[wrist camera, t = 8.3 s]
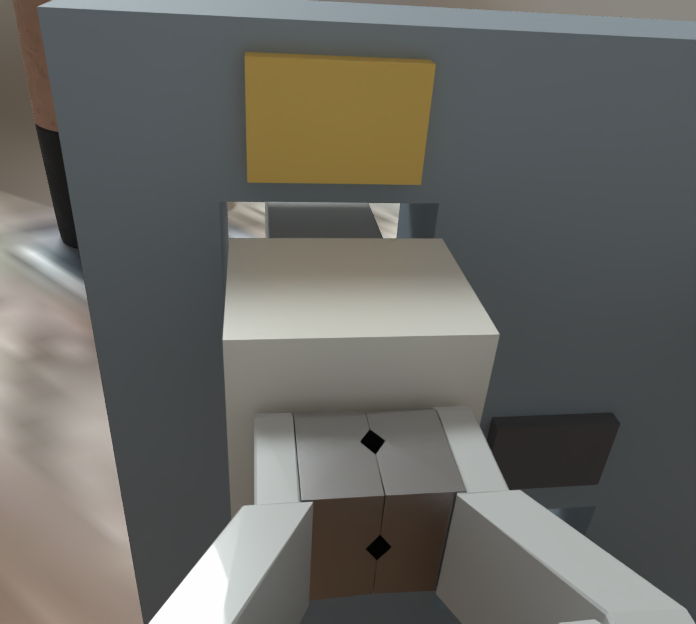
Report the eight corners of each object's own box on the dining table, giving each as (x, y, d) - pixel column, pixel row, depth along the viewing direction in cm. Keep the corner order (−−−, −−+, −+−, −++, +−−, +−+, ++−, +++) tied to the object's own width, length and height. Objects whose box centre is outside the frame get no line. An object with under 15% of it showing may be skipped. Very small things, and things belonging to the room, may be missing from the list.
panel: (149, 817, 18) (-26, 31, 7) (177, 567, 24) (107, -23, 14) (796, 737, 20) (1332, 92, 10) (660, 533, 27) (898, 22, 17)
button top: (231, 535, 10) (222, 340, 8) (240, 250, 18) (237, 122, 16) (458, 520, 10) (500, 334, 8) (365, 249, 19) (375, 126, 17)
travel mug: (34, 243, 47) (-34, -75, 37) (94, 206, 53) (51, -72, 43) (128, 260, 45) (86, -65, 35) (178, 220, 52) (155, -64, 42)
